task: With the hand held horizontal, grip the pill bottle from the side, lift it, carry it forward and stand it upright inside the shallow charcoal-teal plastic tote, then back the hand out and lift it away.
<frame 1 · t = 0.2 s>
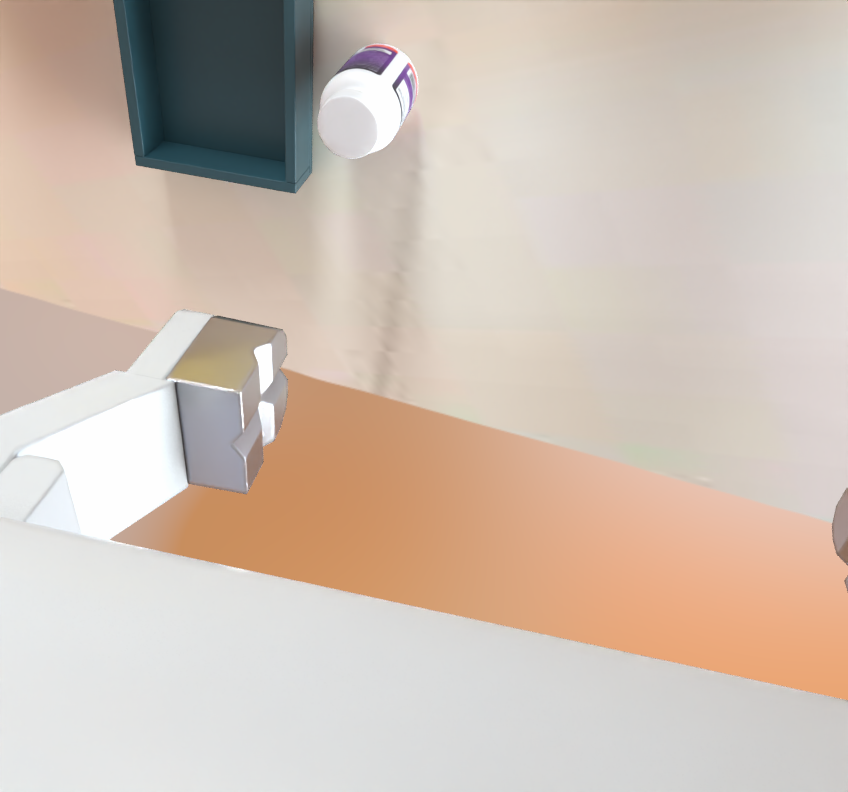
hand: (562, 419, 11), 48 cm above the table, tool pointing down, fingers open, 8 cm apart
pill bottle: (383, 81, 56), on the table
tote: (229, 56, 57), on the table
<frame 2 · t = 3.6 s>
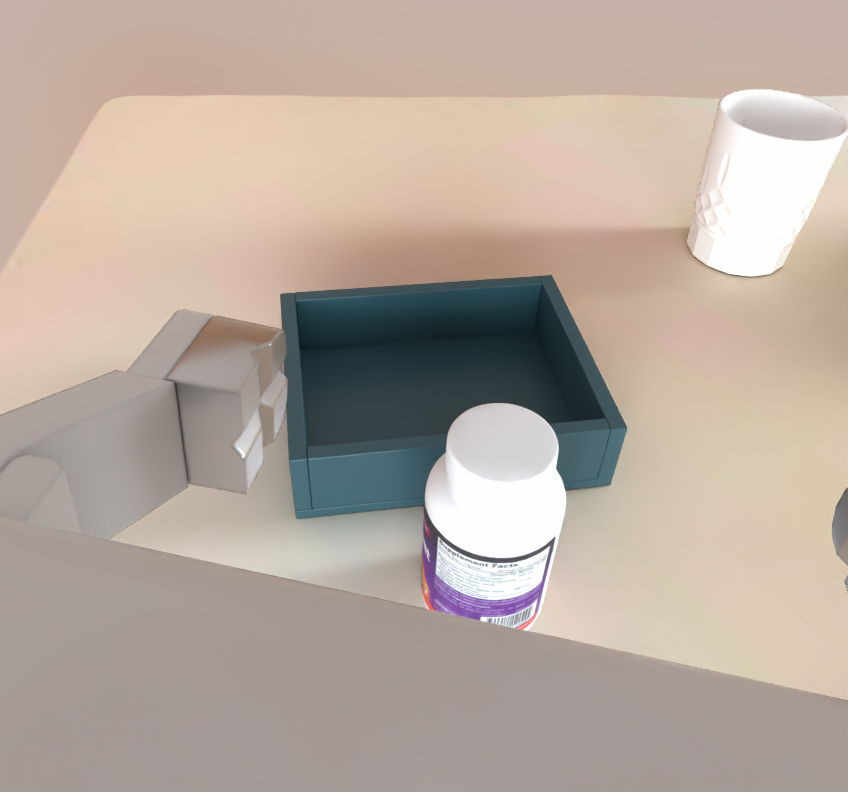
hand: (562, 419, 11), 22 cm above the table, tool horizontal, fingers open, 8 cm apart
pill bottle: (480, 596, 35), on the table
white cup: (733, 253, 56), on the table
tote: (435, 412, 43), on the table
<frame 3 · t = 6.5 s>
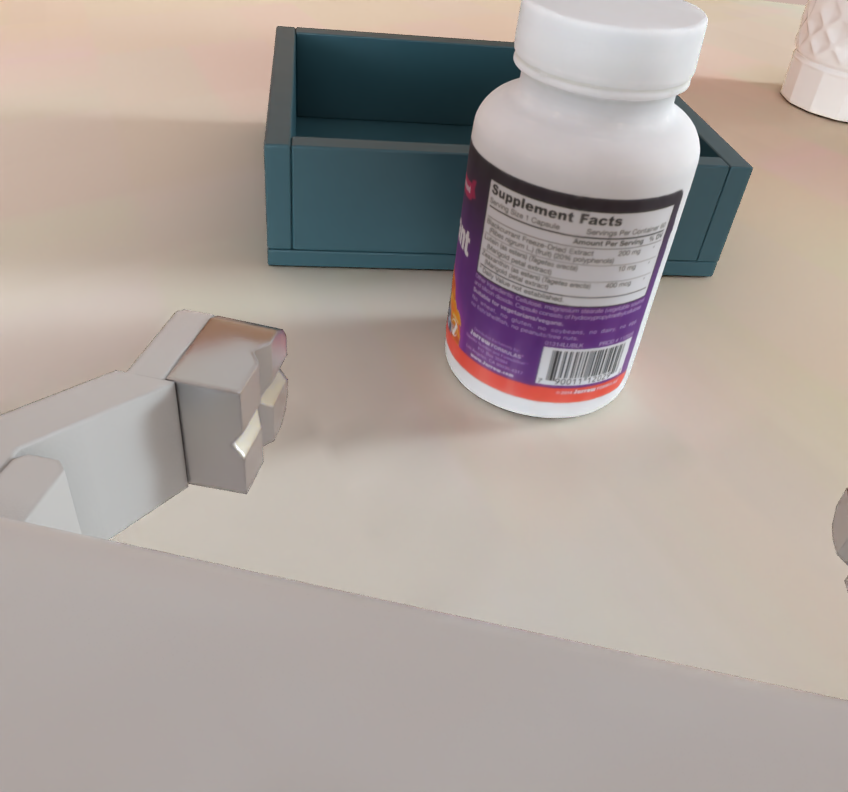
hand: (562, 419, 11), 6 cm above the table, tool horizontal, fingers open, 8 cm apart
pill bottle: (531, 369, 23), on the table
white cup: (837, 108, 46), on the table
tote: (470, 191, 32), on the table
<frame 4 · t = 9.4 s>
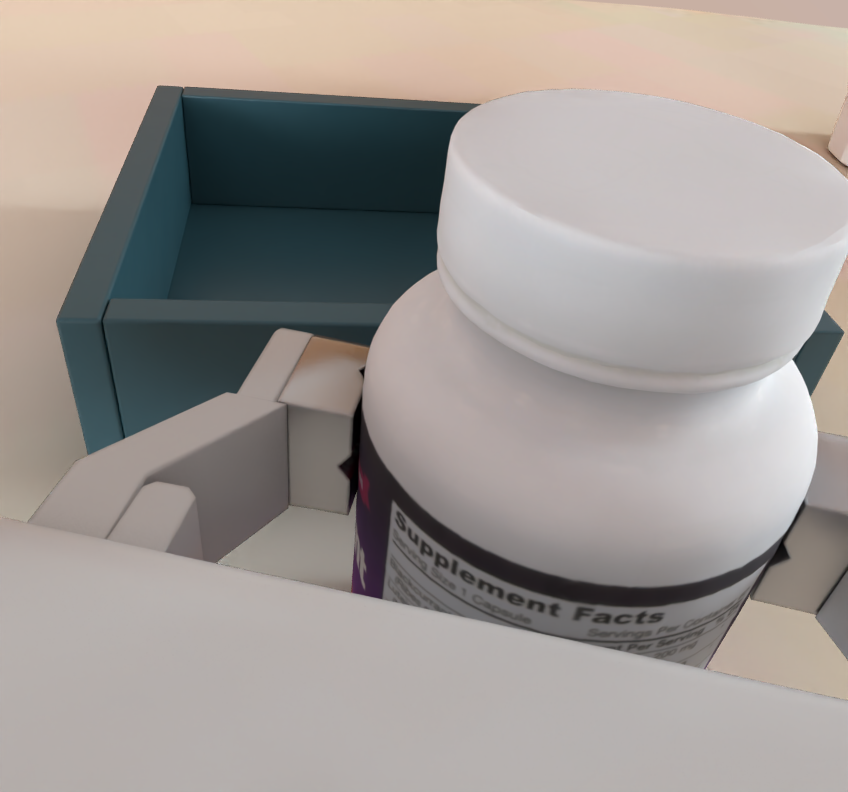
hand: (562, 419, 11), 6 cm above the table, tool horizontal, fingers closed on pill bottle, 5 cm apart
pill bottle: (495, 693, 14), on the table, touching gripper
tote: (423, 319, 23), on the table
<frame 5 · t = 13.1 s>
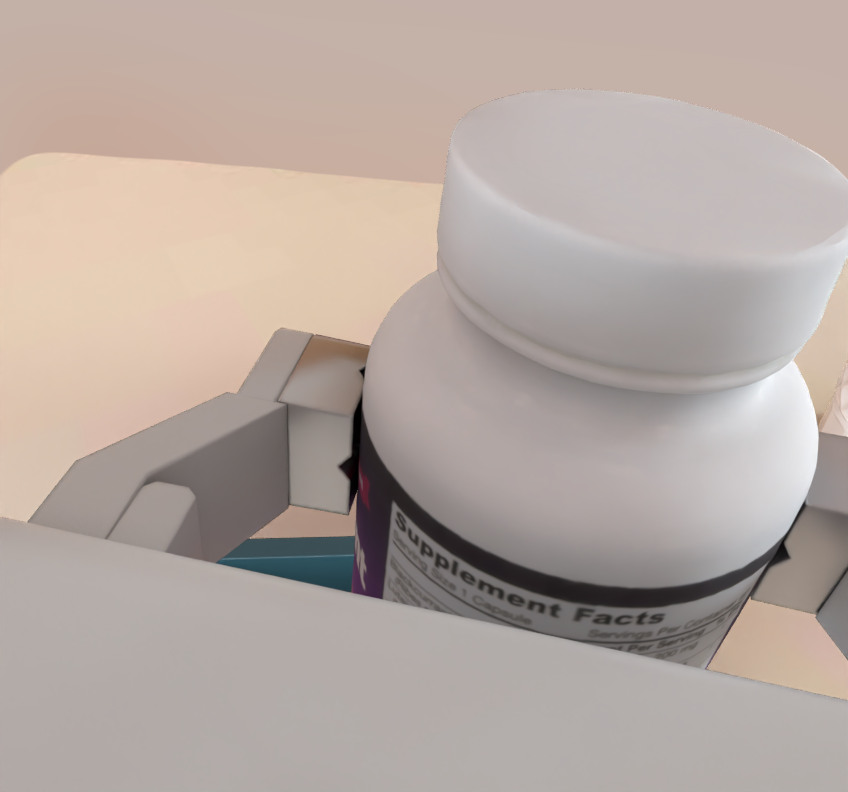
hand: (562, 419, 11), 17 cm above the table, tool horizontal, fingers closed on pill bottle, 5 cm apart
pill bottle: (495, 693, 14), point 11 cm above the table, touching gripper
tote: (418, 786, 23), on the table
when the fingers open (6 cm above the table, at t = 17.0 s): pill bottle stays where it is, resting on tote.
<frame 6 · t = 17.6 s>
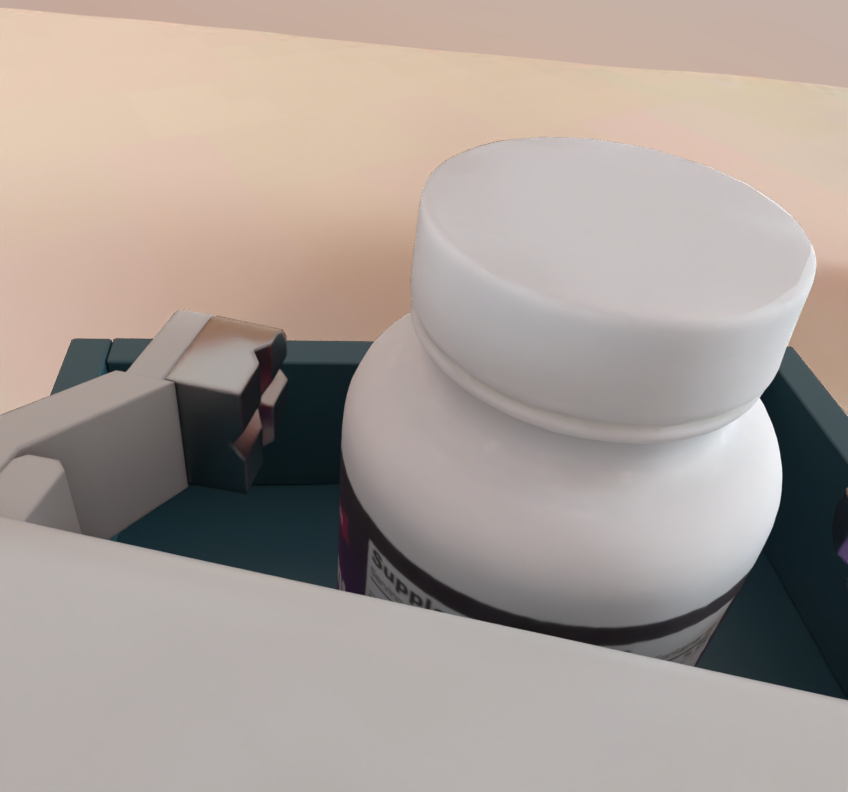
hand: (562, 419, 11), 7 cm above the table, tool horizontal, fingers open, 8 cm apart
pill bottle: (479, 714, 14), resting on tote
tote: (479, 720, 15), on the table
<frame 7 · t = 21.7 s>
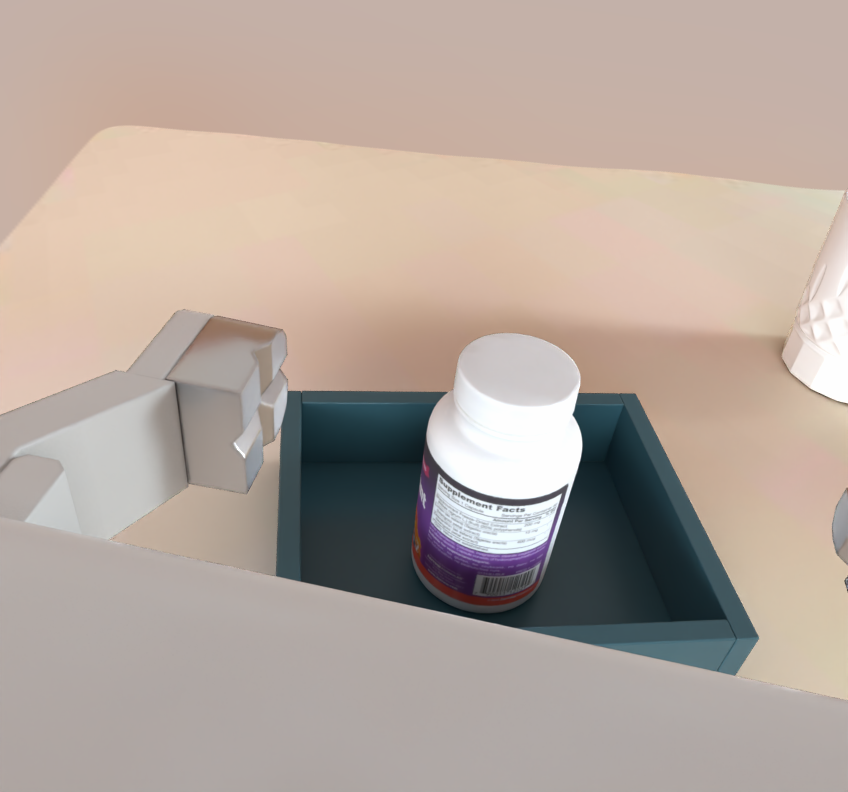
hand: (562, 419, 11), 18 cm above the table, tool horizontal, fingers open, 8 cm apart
pill bottle: (475, 564, 31), resting on tote
white cup: (838, 374, 46), on the table
tote: (475, 568, 32), on the table
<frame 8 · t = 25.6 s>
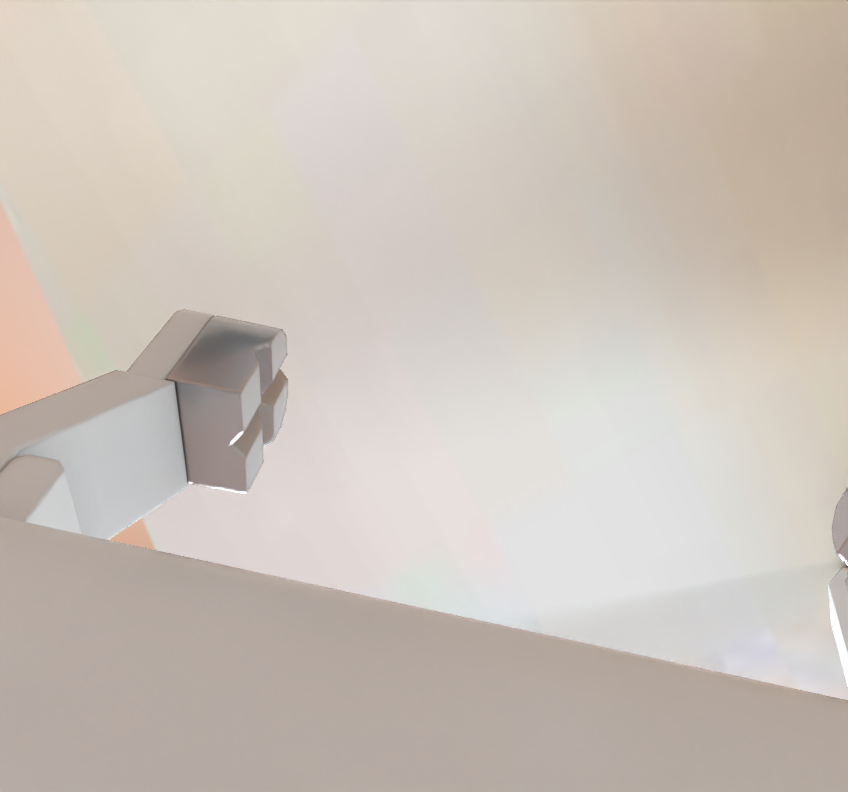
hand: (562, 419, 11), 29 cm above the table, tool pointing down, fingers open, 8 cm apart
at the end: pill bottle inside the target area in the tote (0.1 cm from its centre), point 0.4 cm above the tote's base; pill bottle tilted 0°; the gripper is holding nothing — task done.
